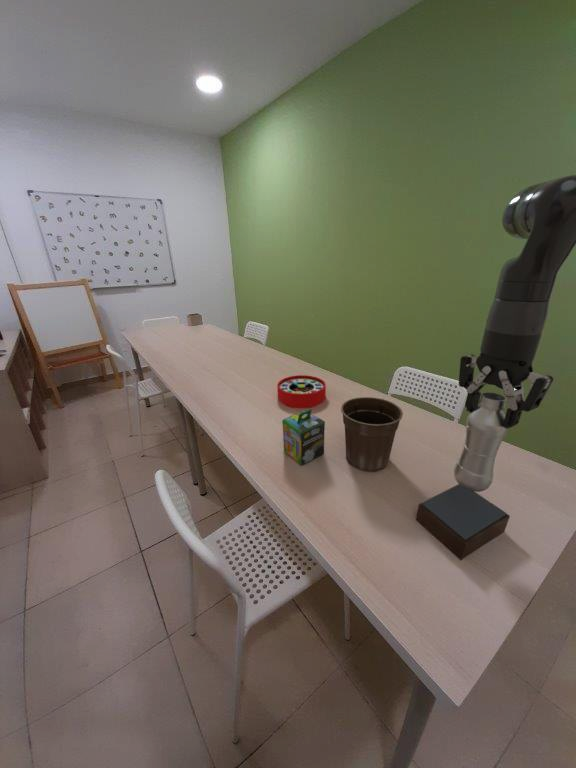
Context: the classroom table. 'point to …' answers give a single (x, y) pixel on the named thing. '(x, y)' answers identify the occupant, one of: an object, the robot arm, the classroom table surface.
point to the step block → (461, 520)
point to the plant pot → (370, 431)
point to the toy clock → (301, 391)
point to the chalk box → (303, 436)
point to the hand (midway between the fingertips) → (488, 418)
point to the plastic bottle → (481, 443)
